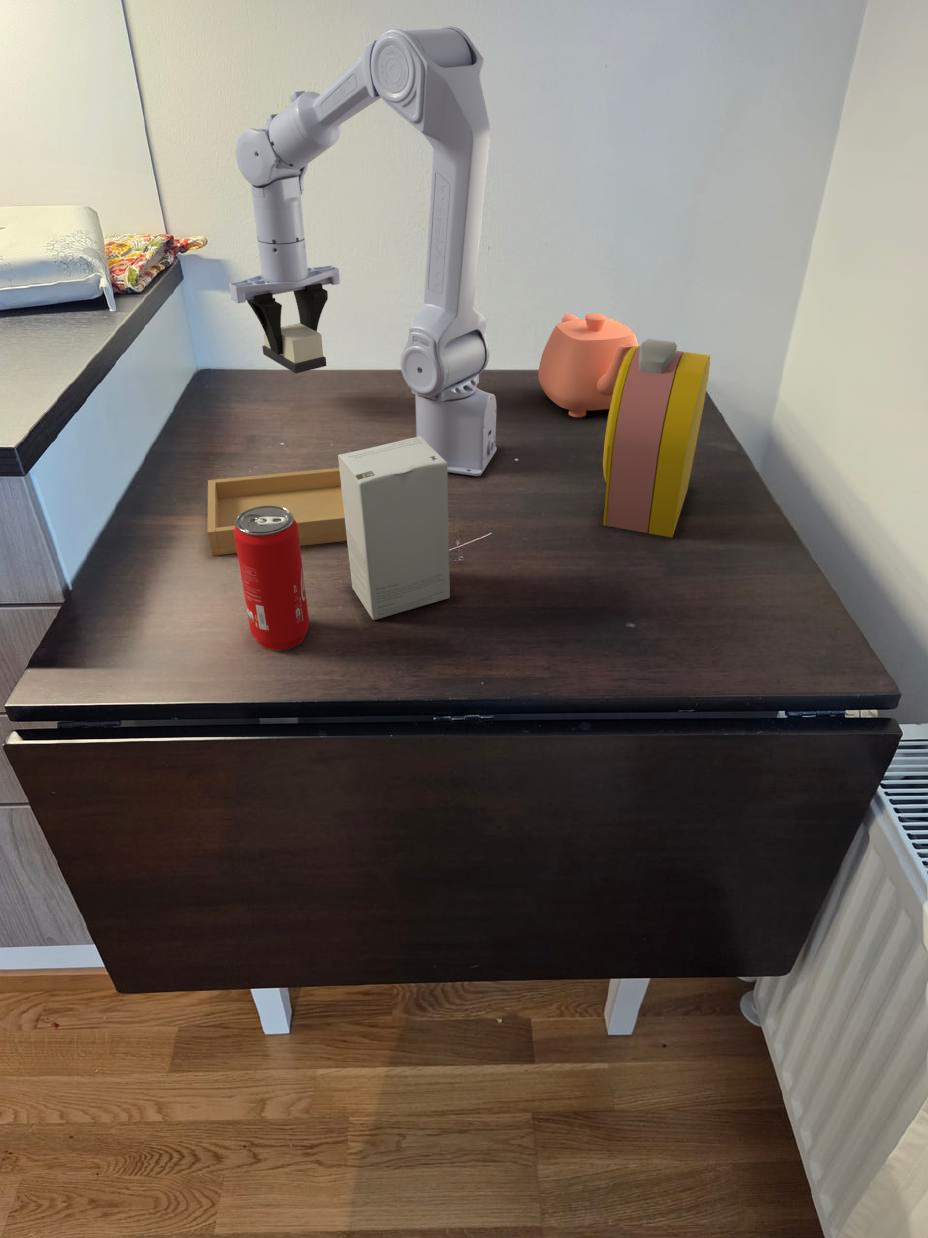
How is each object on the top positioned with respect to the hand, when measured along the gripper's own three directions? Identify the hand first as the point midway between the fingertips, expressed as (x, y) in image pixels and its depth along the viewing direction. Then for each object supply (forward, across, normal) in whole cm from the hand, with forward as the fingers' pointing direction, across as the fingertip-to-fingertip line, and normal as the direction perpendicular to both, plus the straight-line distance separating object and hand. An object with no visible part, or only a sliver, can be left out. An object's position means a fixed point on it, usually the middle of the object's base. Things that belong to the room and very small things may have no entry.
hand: (293, 348), depth 115 cm
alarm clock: (+9, -17, +48) cm, 51 cm away
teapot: (+9, -33, +23) cm, 41 cm away
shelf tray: (+8, +16, +26) cm, 32 cm away
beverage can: (+9, +27, +44) cm, 53 cm away
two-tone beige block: (+2, 0, 0) cm, 2 cm away
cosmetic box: (+9, +15, +46) cm, 49 cm away
